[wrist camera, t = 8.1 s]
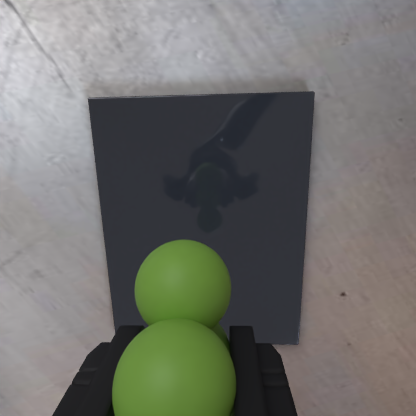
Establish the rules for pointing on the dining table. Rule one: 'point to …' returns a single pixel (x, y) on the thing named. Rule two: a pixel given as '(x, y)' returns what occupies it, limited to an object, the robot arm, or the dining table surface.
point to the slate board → (209, 195)
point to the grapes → (178, 337)
